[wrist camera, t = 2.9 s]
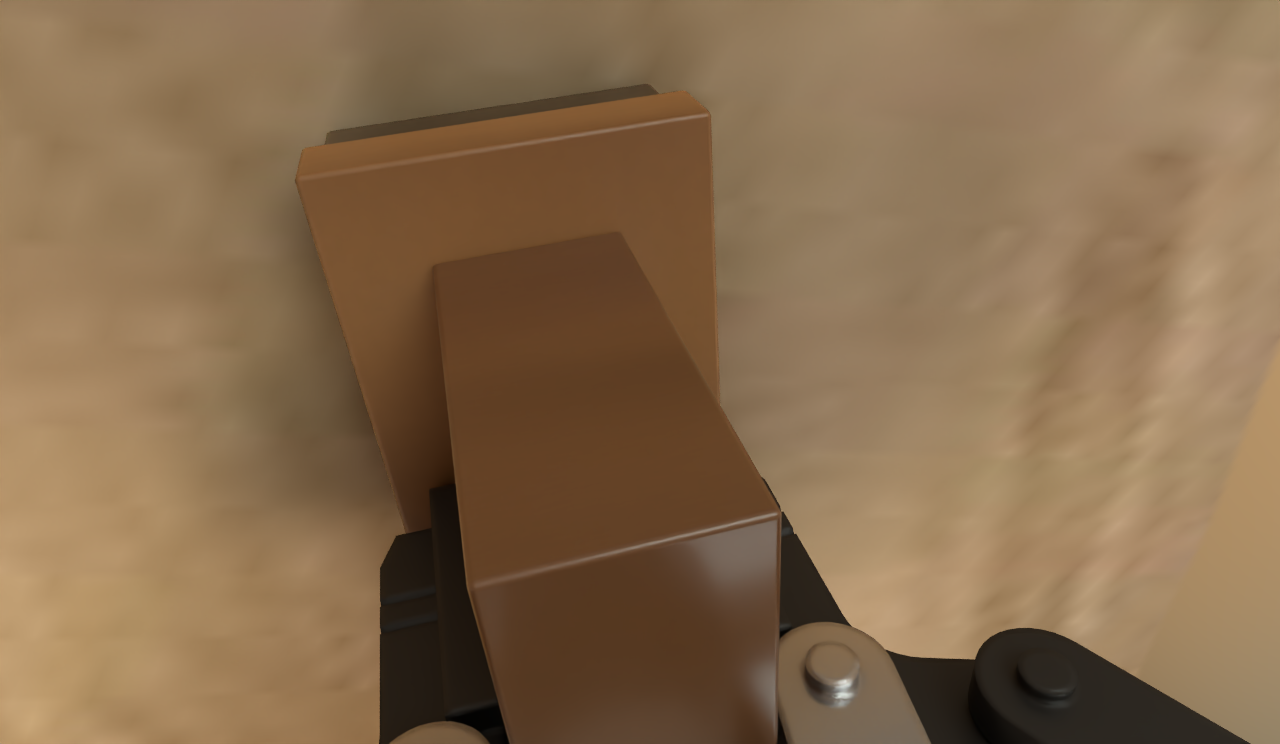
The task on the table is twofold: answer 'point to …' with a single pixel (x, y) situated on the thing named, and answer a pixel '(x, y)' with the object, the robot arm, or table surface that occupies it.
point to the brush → (564, 403)
